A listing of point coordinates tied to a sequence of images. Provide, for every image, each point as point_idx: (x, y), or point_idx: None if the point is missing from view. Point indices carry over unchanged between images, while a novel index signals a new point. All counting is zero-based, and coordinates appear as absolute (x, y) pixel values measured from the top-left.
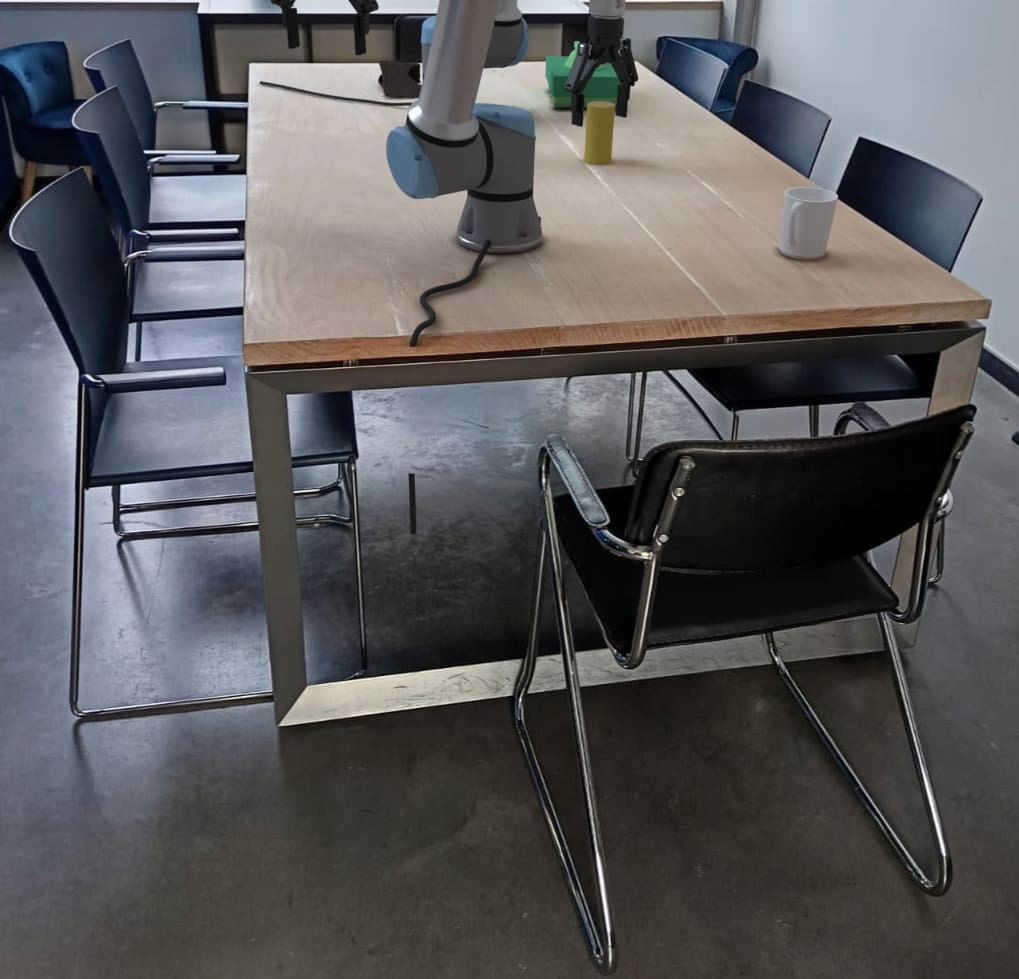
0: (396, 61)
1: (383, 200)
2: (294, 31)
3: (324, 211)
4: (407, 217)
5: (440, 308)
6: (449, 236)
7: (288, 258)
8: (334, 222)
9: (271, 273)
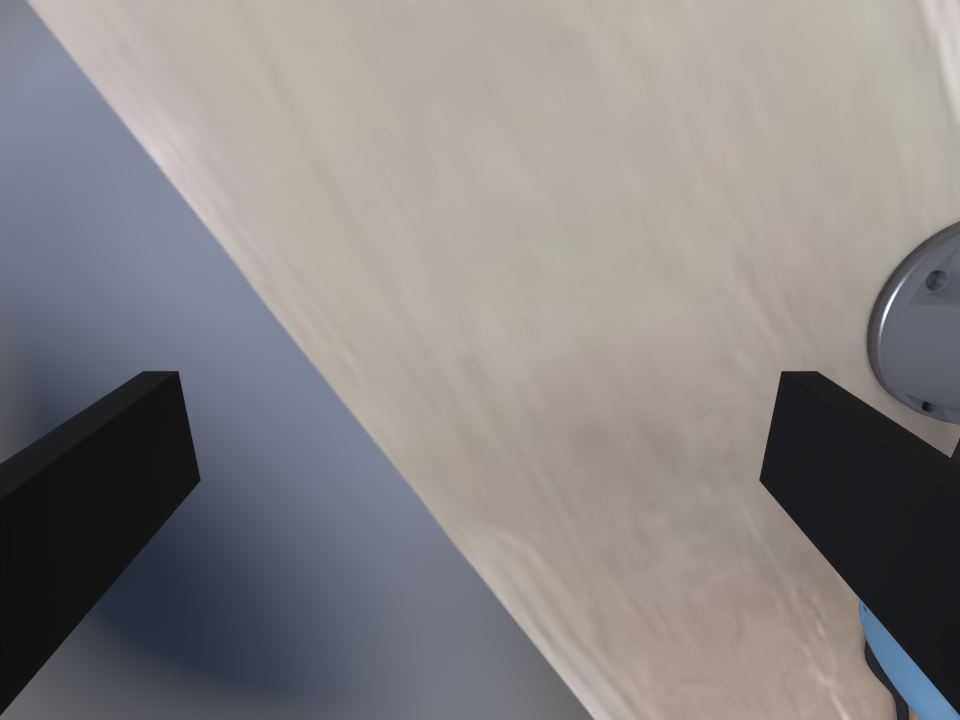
0: None
1: (577, 129)
2: (114, 507)
3: (472, 294)
4: (698, 247)
5: None
6: (842, 338)
7: (557, 574)
8: (538, 359)
9: (566, 637)
